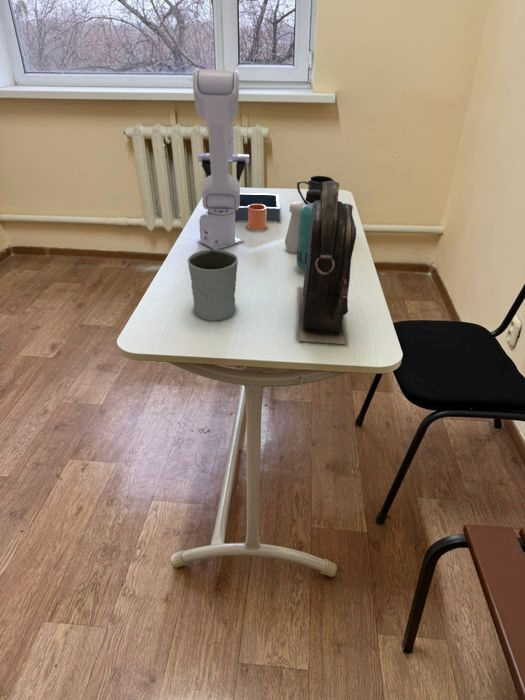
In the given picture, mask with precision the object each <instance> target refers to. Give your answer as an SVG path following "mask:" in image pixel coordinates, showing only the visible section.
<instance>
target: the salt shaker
mask: <svg viewBox="0 0 525 700" xmlns="http://www.w3.org/2000/svg"><path fill="white" fill-rule="evenodd" d="M304 205H305V203H304V202H300V201H293V202H291V203H290V205H289V213H290V219H289V223H288V228H287V232H286V235H285V238H284V246H285V248H286V251H287V252H289V253H291V254H297V252H298V249H297V246H298V244H297V243H298V238H299V231H298V230H299V223H300V210H301V208H302V207H303V206H304Z"/></svg>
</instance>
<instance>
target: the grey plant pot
mask: <svg viewBox="0 0 525 700" xmlns="http://www.w3.org/2000/svg"><path fill="white" fill-rule="evenodd" d="M238 262H239V260H238V257H237V256H236V254H235V253H233V252H230V251H227V250H223V249H217V250H214V249H204V250H200V251H197V252H195V253H193V254H191V255H190V256H189V257H188V259H187V265H188V271H189V275H190V280H191V290H192V296H193V297H192V298H193V306H194V312H195V314H196V316H198V317H199V318H201V319H202V320H206V321H211V322H212V321H222V320H226V319H228V318H230V317H231V316H232V315H233V314H234V313H235V308H236V296H235V295H236V286H237V285H236V282H237V272H238V264H239V263H238Z"/></svg>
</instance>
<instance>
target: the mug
mask: <svg viewBox="0 0 525 700" xmlns="http://www.w3.org/2000/svg"><path fill="white" fill-rule="evenodd" d="M325 181H335V179H334V178H333V177H330V176H327V175H314V176H310V177H309V178H308V181H304V180H299V181H297V182H296V189H297V192H298V194H299V195H300V198H301V200H302V201H303V203H304V204H305V205H306V204H309V202H307V201H306V198H305V197H304V195H303V194H302V191H301V189H300V184H306V185H307V187H308V188H307V191H309V190H320V191H322V182H325Z"/></svg>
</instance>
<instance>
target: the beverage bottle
mask: <svg viewBox="0 0 525 700" xmlns="http://www.w3.org/2000/svg"><path fill="white" fill-rule="evenodd" d="M321 193H322V191H320V190H309V191H308V190H307V191H306V194H305V200H306V201H307V202H308V203H309V204H306V205H304V206H303V207H302V208H301V210H300V223H299V230H298V231H299V238H298V243H297V244H298V246H297V249H298V252H297V253H296V266H297V267H298V268H299V269H302V270H304V271H305V268H306V261H307V255H308V249H309V240H310V230H311V220H312V208H313V204H314V201H321Z"/></svg>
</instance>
